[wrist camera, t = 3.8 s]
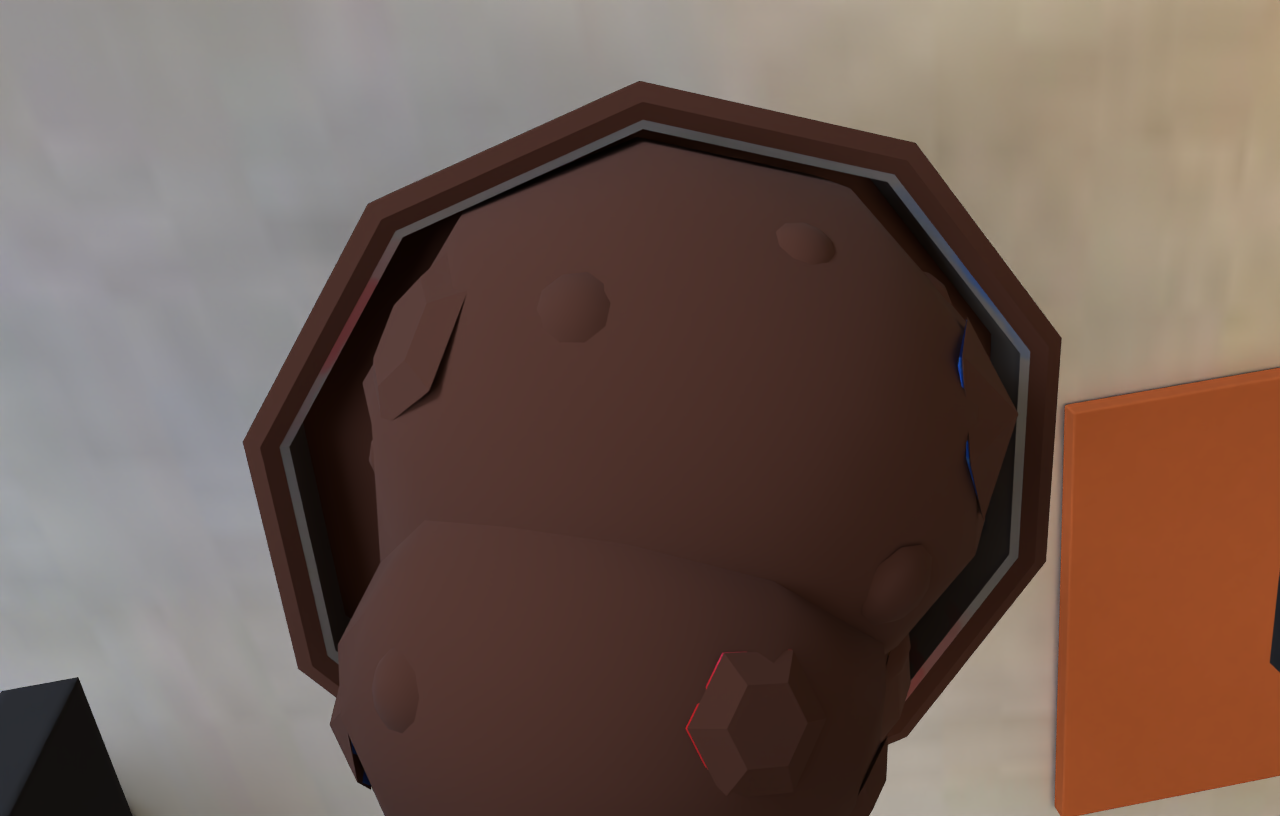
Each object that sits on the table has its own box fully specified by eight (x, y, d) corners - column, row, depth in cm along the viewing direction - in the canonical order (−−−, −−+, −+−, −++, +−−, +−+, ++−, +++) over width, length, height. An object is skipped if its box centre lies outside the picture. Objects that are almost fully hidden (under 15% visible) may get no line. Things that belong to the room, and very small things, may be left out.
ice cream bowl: (786, 546, 28) (1093, 1192, 14) (293, 475, 25) (86, 1167, 12) (932, 88, 24) (1554, 366, 10) (365, -46, 21) (180, 81, 8)
